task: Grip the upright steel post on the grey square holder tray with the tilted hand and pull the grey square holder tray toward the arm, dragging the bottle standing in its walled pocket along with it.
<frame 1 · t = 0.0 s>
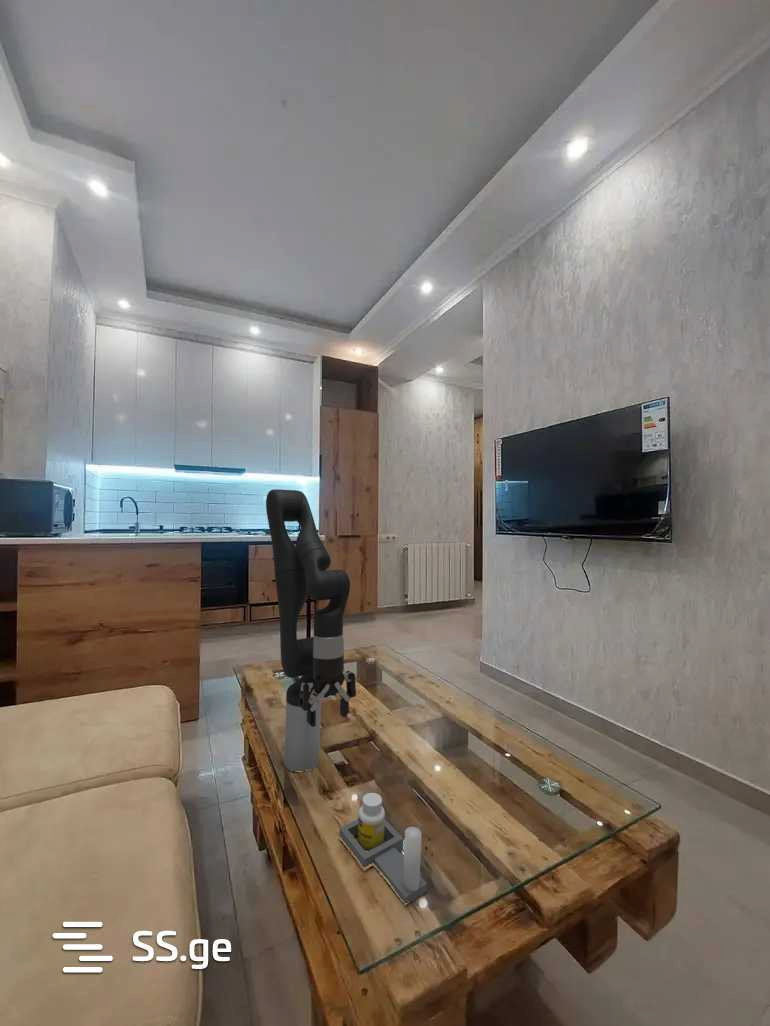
hand: (328, 720, 104), 17 cm above the table, tool pointing down, fingers open, 8 cm apart
supplement bottle: (370, 846, 88), resting in grey square holder tray
grey square holder tray: (385, 833, 84), point 6 cm above the table, slide at 0.0 cm
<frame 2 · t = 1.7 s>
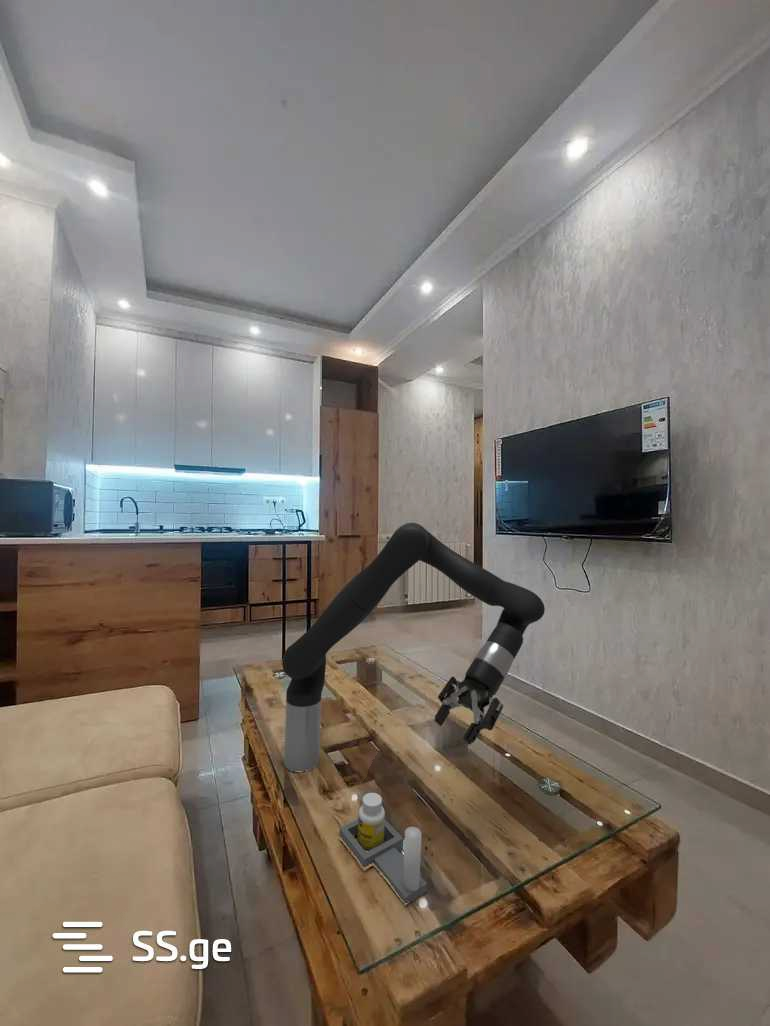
hand: (451, 732, 90), 23 cm above the table, tool tilted 45°, fingers open, 8 cm apart
nothing on the table moved.
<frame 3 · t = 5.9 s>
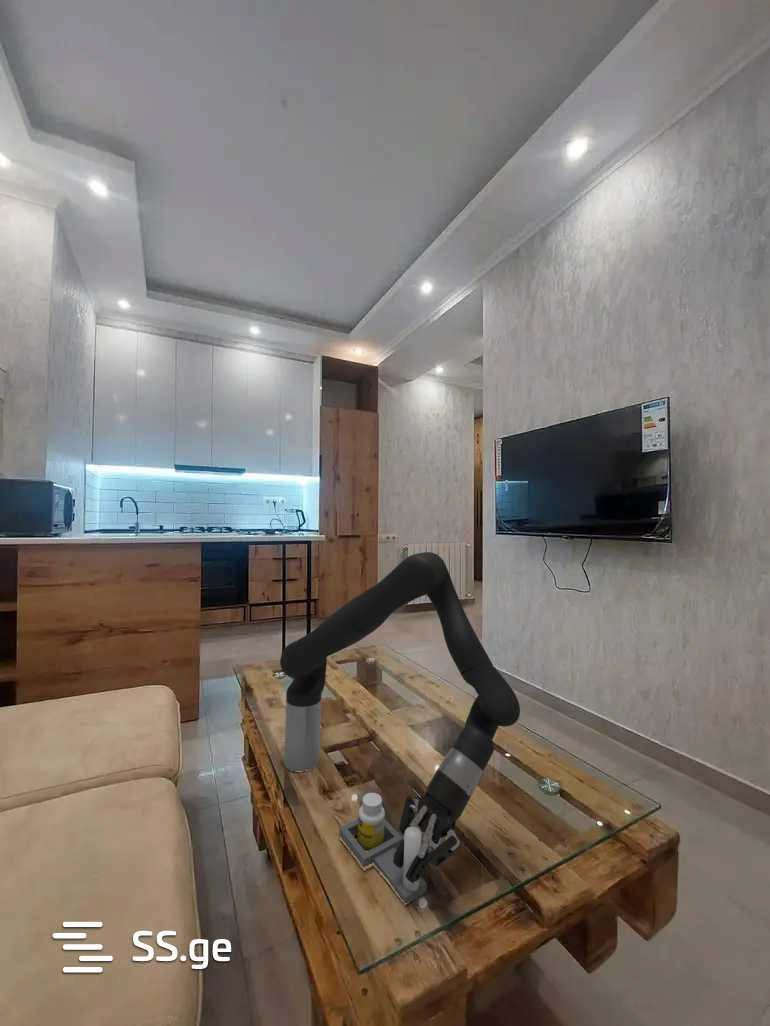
hand: (403, 872, 76), 5 cm above the table, tool tilted 45°, fingers closed on grey square holder tray, 3 cm apart
grey square holder tray: (385, 833, 84), point 6 cm above the table, slide at 0.0 cm, touching gripper
everything else where it was.
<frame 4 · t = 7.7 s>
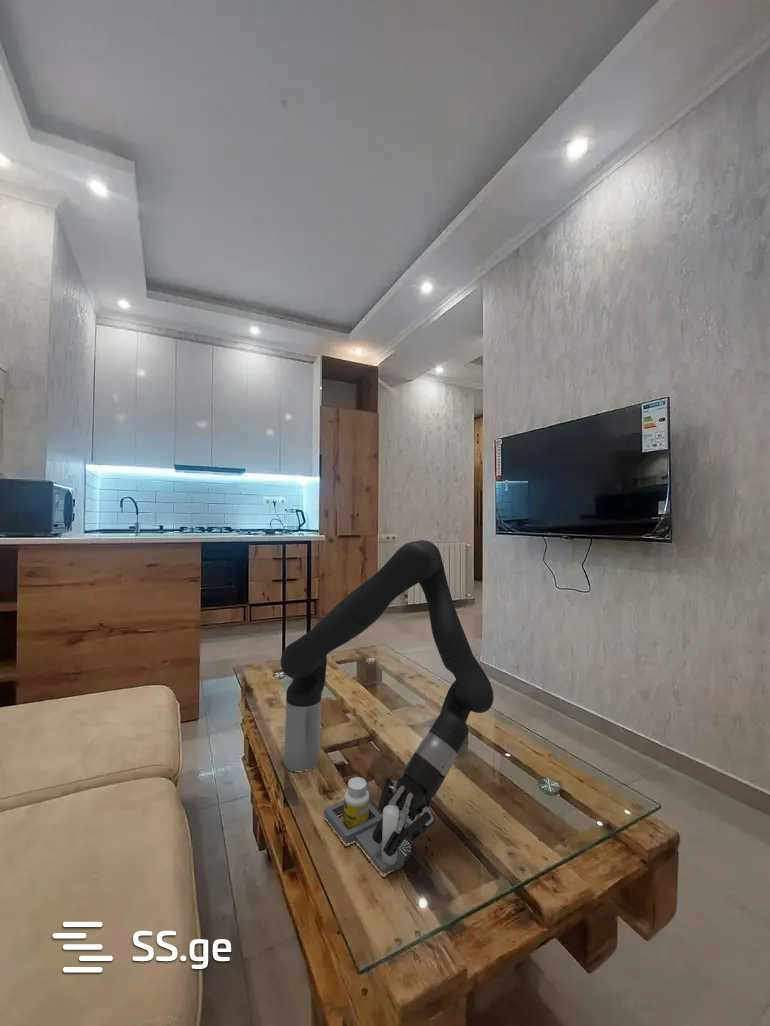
hand: (381, 847, 82), 5 cm above the table, tool tilted 45°, fingers closed on grey square holder tray, 3 cm apart
supplement bottle: (355, 828, 93), resting in grey square holder tray
grey square holder tray: (366, 812, 89), point 6 cm above the table, slide at 6.7 cm, touching supplement bottle, gripper
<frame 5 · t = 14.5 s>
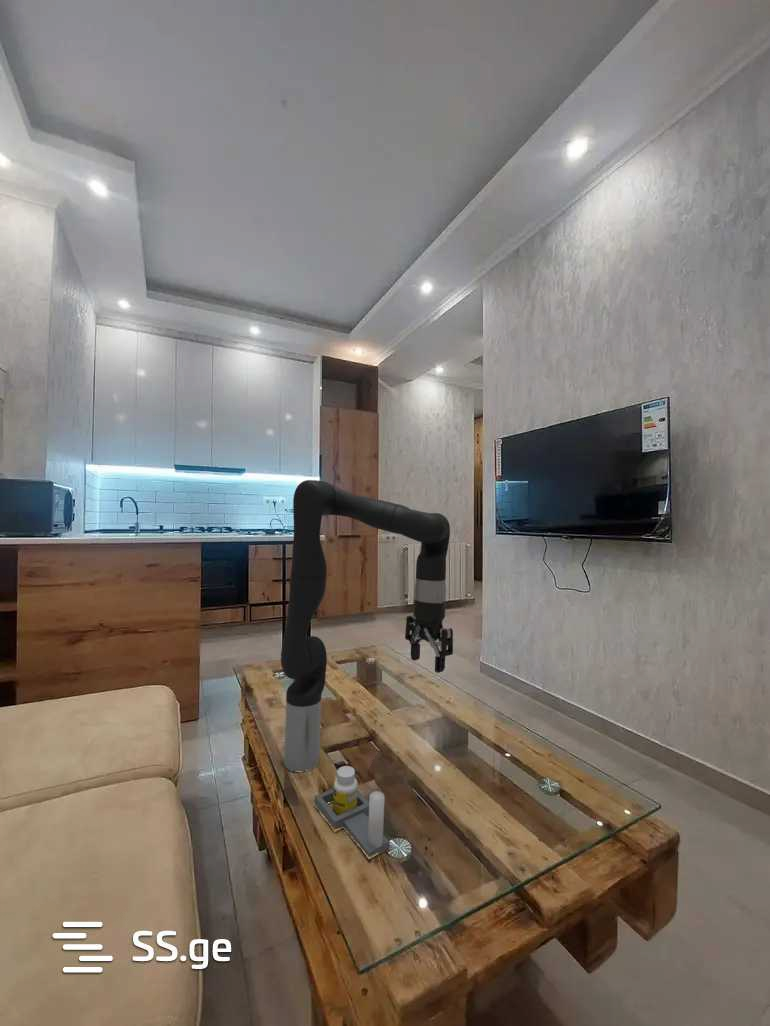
hand: (426, 665, 102), 32 cm above the table, tool pointing down, fingers open, 8 cm apart
supplement bottle: (344, 814, 97), resting in grey square holder tray
grey square holder tray: (354, 799, 93), point 6 cm above the table, slide at 11.4 cm
at the end: grey square holder tray slide at 11.4 cm; supplement bottle inside the target area (1.9 cm from its centre), resting in grey square holder tray; supplement bottle tilted 0° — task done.
